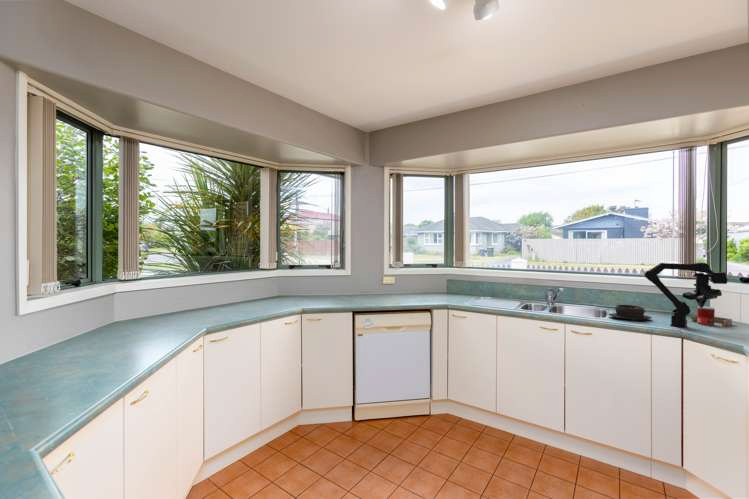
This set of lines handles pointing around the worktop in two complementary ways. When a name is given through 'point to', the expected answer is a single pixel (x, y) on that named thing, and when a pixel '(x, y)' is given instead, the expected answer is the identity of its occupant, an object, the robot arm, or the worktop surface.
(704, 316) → the canned food
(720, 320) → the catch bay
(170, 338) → the worktop surface
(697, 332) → the worktop surface
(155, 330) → the worktop surface
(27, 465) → the worktop surface
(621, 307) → the casserole
